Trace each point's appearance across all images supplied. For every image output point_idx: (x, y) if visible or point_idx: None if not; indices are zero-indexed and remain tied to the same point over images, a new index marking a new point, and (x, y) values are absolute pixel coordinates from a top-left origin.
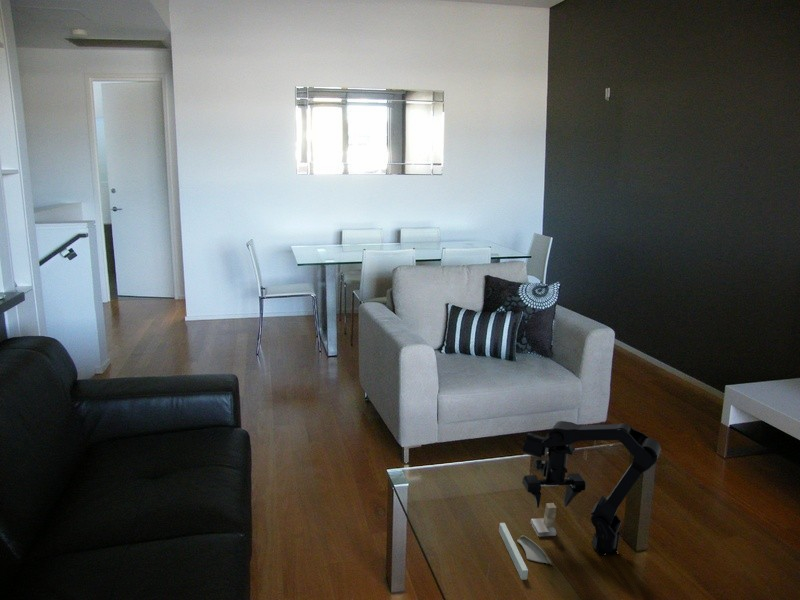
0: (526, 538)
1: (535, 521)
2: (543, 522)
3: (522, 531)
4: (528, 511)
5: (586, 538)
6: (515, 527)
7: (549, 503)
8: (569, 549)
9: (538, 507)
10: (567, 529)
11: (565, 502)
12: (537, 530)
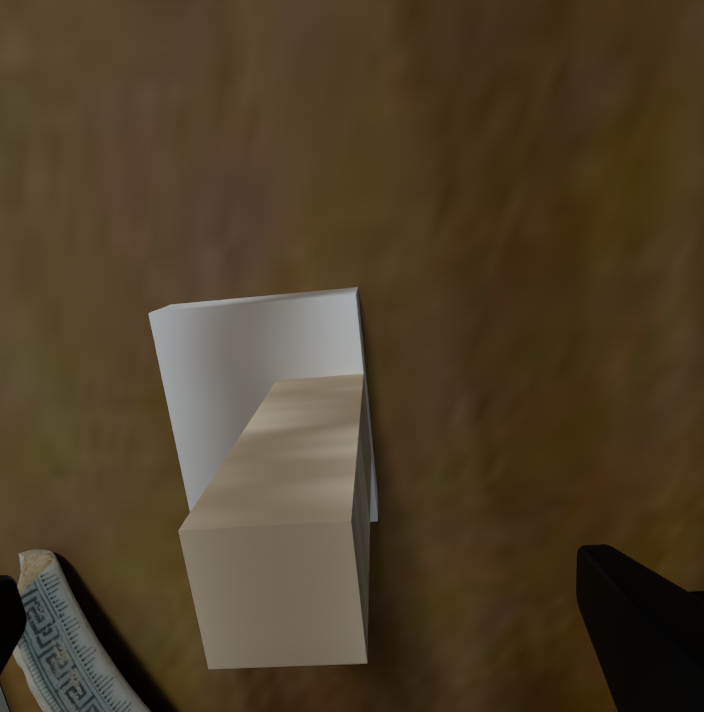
0: (36, 683)
1: (191, 361)
2: (276, 381)
3: (77, 436)
4: (178, 78)
5: (655, 534)
6: (16, 378)
7: (256, 536)
8: (437, 655)
9: (11, 651)
10: (525, 407)
11: (621, 668)
12: (188, 502)
